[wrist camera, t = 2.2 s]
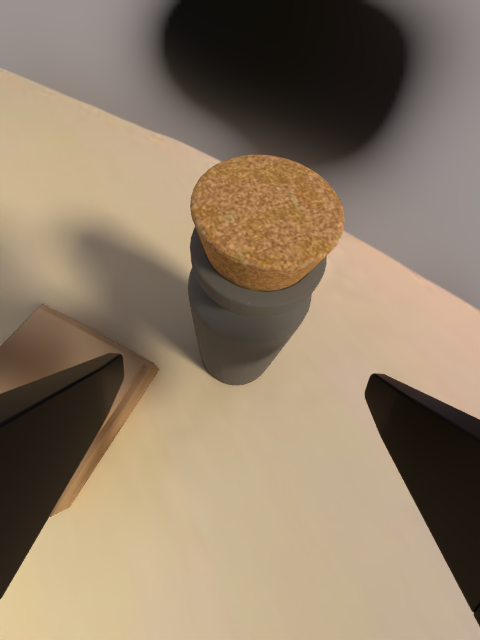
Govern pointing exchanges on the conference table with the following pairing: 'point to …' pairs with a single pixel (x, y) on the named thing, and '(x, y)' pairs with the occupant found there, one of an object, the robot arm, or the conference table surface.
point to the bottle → (256, 259)
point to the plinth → (64, 352)
